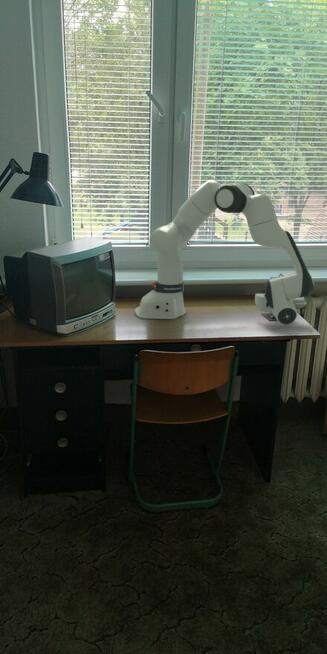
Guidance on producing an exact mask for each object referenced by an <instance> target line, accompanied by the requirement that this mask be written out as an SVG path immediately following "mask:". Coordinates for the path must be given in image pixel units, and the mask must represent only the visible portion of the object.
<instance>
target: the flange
mask: <svg viewBox="0 0 327 654" xmlns="http://www.w3.org/2000/svg"><path fill="white" fill-rule="evenodd" d="M261 316H263V317H264V318H265V319H266V320H267V321H268V322H278V321H277V319H276V318H275V316H274V314H272V313H269V312H265V313H264V312H263V313H261Z"/></svg>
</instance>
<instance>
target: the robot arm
mask: <svg viewBox="0 0 327 654" xmlns="http://www.w3.org/2000/svg"><path fill="white" fill-rule="evenodd" d="M217 209H218V210H219V211H221V212H223V213H227V214H240V213H241V214H242V215H244V217H245V219H246V222H247V225H248V231H249V234H250V236H251V239H252V240H253V242H254V243H255V244H257V245H258V246H261V247H265V248H277V249H281V250H283V251H285V252H286V253H287V254H288V257H289V259H290V261H291V263H292V266H293V268H294V270H295V271H294V272H292V273H289V274H285V275H284V276H281V275H280V277H278V276H275V277H276V278H273V279H270V278H269V279H267V281H266V283H265V285H264V287H263V289H264V293H255V295H254V303H255V305H256V307H258V308H259V311H261V312H263V313H264V312H265V313H272V314H274V316H275V318H276V319H277V321H276V322H278V323H279V324H282V325H289V324H293V322H295V320H296V319H297V316H298V309H297V308H303V307H304V306H307V302H306V301H305V298H306V297H309V296H310V295H311V294H312V293H313V292H314V290H315V281H314V279H313V276H312V275H311V274H310V273H311V272H309V270H308V268H307V266H306V264H305V261H304V259H303V256H302V255H301V252H300V250H299V247H298V246H297V243H296V242H295V239H294V237H293V236H292V234H290V232H289V231H287V230H284V228H283V227H282V226H281V225H280V223H279V221H278V216H277V213H276V210H275V208H274V205H273V202H272V201H271V199H270V197H269V196H268V195H267V194H264V193H256V194H255V191H254V189H253V188H252V187H251V186H250V185H248V184H247V183H241V182H233V183H226V184H223V185H222V184H221V183H220V182H219V181H217V180H215V179H209V180H207V181H205V182H204V183H202V184H201V185H200V186H199V187H198V188H197V189H196V190H195V191H194V192H193V193H192V194H191V195H190V196H189V197H188V198H187V199H186V201H185V202H183V204H181V206H180V207H179V208H178V210H177V213H176V215H175V216H174V218H173V220H172V221H171V222H169V223H167V224H165V225H163V226H159V227H157V228H156V229H155V230H154V231H153V232H152V233H150V236H149V245H150V247H151V249H152V250H153V251H154V254H155V255H154V256H155V257H156V264H157V265H156V266H157V280H156V281H154V280H151V282H150V285H151V286H152V289H151V290H150V291H149V292H148V293H147V294H145V295H144V296H143V297H142V298H141V300H140V303H139V306H138V307H136V308H135V309H134V314H135V316H136V317H138V318H140V319H154V320H157V319H159V320H176V319H177V318H179V317H181V316H184V315H185V314H186V309H185V305H184V290H185V283H184V263H183V262H182V260H181V257H180V252H179V250H180V249H181V248H183V247H185V246H187V244H188V243H189V242H190V241H191V239H192V238H193V236H194V235H195V233H196V232H197V230H198V229H199V228H200V227H201V226H202V224H203V223H205V222H206V220H207V219H208V218H209V217H210V216H211V215H212V214H213V213H214V211H216V210H217Z"/></svg>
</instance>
